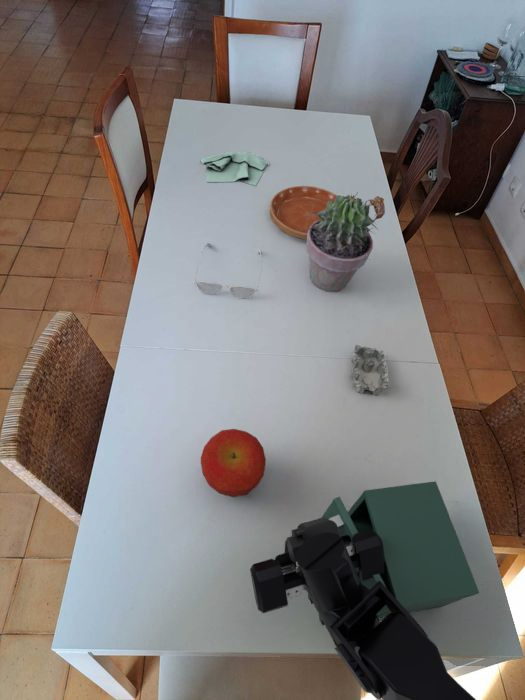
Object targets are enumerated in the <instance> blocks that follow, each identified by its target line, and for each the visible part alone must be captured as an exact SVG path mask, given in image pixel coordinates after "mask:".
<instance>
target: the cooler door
mask: <svg viewBox="0 0 525 700" xmlns="http://www.w3.org/2000/svg"><path fill="white" fill-rule="evenodd" d="M322 517H324V518H327V519H329V520H332V521H334V522H335V523H336V524H337V527H338V531H339V535H340V537H341V536H344V535H349V536H350V538H351V543H352V544H354V543H353V541H352V538H353V536H354V534H356V533H358V531H357V529H356V527H355V526H354V524H353V522H352V520H351V518H350V516H349V514H348V510H347V508H346V506H345V504H344V503H343V500H342V498H341V497H340V496H336V497H335V498H333V499H332V501H331V503H330V504H329V506H328V507H327V509H326V510H325V512H324V513H323V515H322V516H321V518H322ZM355 570H356V572H357V573H358V571H359V568H355ZM378 581H380V582H381V583H382V584H383V585H384V586H385V584H384V582H383V580H382V578H381V576H380V574H376V575H373V578H371V579H369V580H366V581H363V582H361V583H362V584H363V585H364V586H365V587H367V588H368V589H370V588H371V587H372V586H373V585H374V584H376V583H377V582H378ZM385 587H386V586H385ZM387 611H389V609H388V607H387V606H386V604H385V606H384V607H383V608H382V609H381V610H380V611H379V612H378V613H377V614H376V615H377V616H378V615H380V614H382V613H385V612H387Z"/></svg>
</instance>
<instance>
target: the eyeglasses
mask: <svg viewBox="0 0 525 700" xmlns="http://www.w3.org/2000/svg"><path fill="white" fill-rule="evenodd" d="M211 245H212V243H210V242H207V243H206V244H205V245H204V246H203V248H202V250H201V251H200V255H199V260H198V262H197V265H196V270H195V271H196V272H195V275H197V273H198V268H199V264H200V260H201V257H202V254H203V252H204V250H205V248H206V247H207V248H210V247H211ZM257 254H259V255H260V264H262V262H263V258H262V251H261V249H257ZM259 271H260V272H259V275H261V272H262V269H260V270H259ZM260 279H261V277H259V279H258V281H260ZM193 284H195V285H196V286H197V288H198V289H199V290H200V292H202V293H203V294H206V295H217V294H219V293H220V292H221V291H222V289H223V288H229V289H230V292H231V295H233V296H234V297H235V298H238V299H250V298H251V297H252V296H254V295H255V293H256V292H259V289H260V286H259V285H260V282H258V284H257V288H253V287H251V286H241V285H232V286H229V285H222V284H221V283H220V284H219V283H217V282H216V283H215V282H210V281H204V280H203V281H202V280H201V281H197V276H194V279H193Z"/></svg>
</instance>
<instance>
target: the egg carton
mask: <svg viewBox="0 0 525 700" xmlns="http://www.w3.org/2000/svg"><path fill="white" fill-rule="evenodd" d="M351 363H352V369H351V375H352V377H353V380H352V382H351V387H352V388H353V389H355V390H356V392H357V393H359V394H363V393H364V391H370V392H371V393H372V395H373V396H378V395H379V394H380V393H382V392H383V391H385V389H387V388H388V386H389V375H388V363H387V360H386V357H385V352H384V350H377V348H371V347H367V346H361V345H358V344H355V346H354V350H353V354H352V356H351Z"/></svg>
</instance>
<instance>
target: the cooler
mask: <svg viewBox="0 0 525 700" xmlns="http://www.w3.org/2000/svg"><path fill="white" fill-rule="evenodd" d="M347 512H348V514H349V516H350V518H351V520H352V522H353V524H354V526H355V527H356V529H357V531H358V533H360V532H363V531H367V530H370V529H372V530H373V531H375V532H376V533H377V534H378V535H379V536H380V538H381V540H382V542H383V548H384V556H385V564H386V570H385V573H384V574H383V575H382V576H381V578H382V580H383V582H384V584H385V586H386V588H387V589H388V590H389V591H390V593H391V594H392V595H393V596H394V597H395V598H396V599H397V600H398V601H399V603H400V604H401V605H402V606H403V607H404V608H405V609H406V610H407V611H408V613H409V614H411V613H416V612H420V611H427V610H432V609H438V608H442V607H445V606H447V605H451V604H453V603H456V602H459V601H462V600H464V599H466V598H470V597H472V596H475V595H478V594H480V590H479V588H478V586H477V583H476V580H475V577H474V575H473V572H472V570H471V567H470V565H469V563H468V560H467V558H466V555H465V553H464V550H463V547H462V544H461V541H460V540H459V539H460V538H459V536H458V534H457V531H456V530H455V526H454V524H453V522H452V518H451V517H450V514H449V511H448V509H447V506H446V504H445V501H444V498H443V496H442V493H441V491H440V488H439V486H438V483H437V481H436V480H435V481H428V482H421V483H414V484H413V483H411V484H404V485H396V486H387V487H380V488H373V489H365V490H364V491H363V492H362V493H361V494H360V496H359V497H358V498H357V500H356V501H355V502H354V504H353V505H352V506H351V507H350V508H349V510H347ZM389 613H391V611H390V610H389V611H387V612H385V613H382V614H380V615H378V616H377V617H378V619H381V618H383V619H384V618H385V617H386V616H387V615H388V614H389Z"/></svg>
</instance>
